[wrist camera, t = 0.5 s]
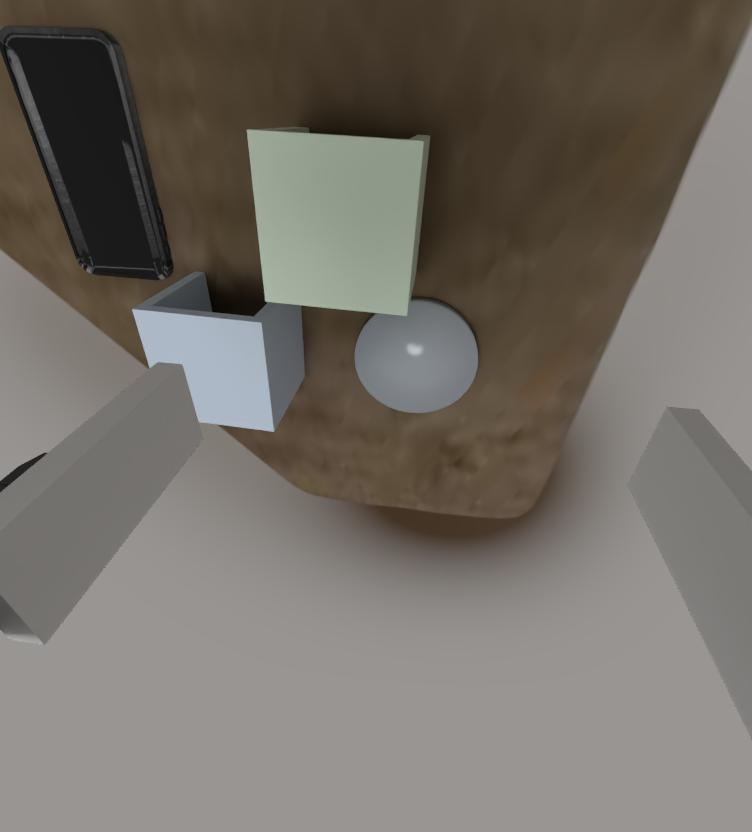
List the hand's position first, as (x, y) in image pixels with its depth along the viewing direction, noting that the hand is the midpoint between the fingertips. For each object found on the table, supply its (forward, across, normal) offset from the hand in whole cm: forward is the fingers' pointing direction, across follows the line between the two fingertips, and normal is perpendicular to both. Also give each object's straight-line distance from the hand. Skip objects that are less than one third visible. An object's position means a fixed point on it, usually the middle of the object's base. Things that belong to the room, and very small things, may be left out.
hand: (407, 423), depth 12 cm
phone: (+23, -24, +4) cm, 33 cm away
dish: (+22, 0, -9) cm, 24 cm away
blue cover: (+22, -14, -8) cm, 28 cm away
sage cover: (+22, -5, +2) cm, 23 cm away
